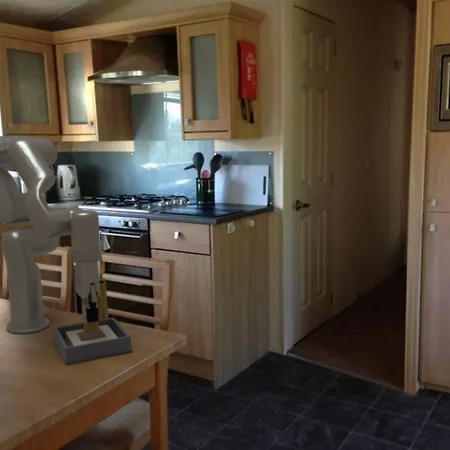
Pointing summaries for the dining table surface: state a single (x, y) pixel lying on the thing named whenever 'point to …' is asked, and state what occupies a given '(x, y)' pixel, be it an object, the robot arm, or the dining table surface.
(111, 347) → the open box
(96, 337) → the block
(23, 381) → the dining table surface
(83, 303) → the sprinkles bottle
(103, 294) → the vase
